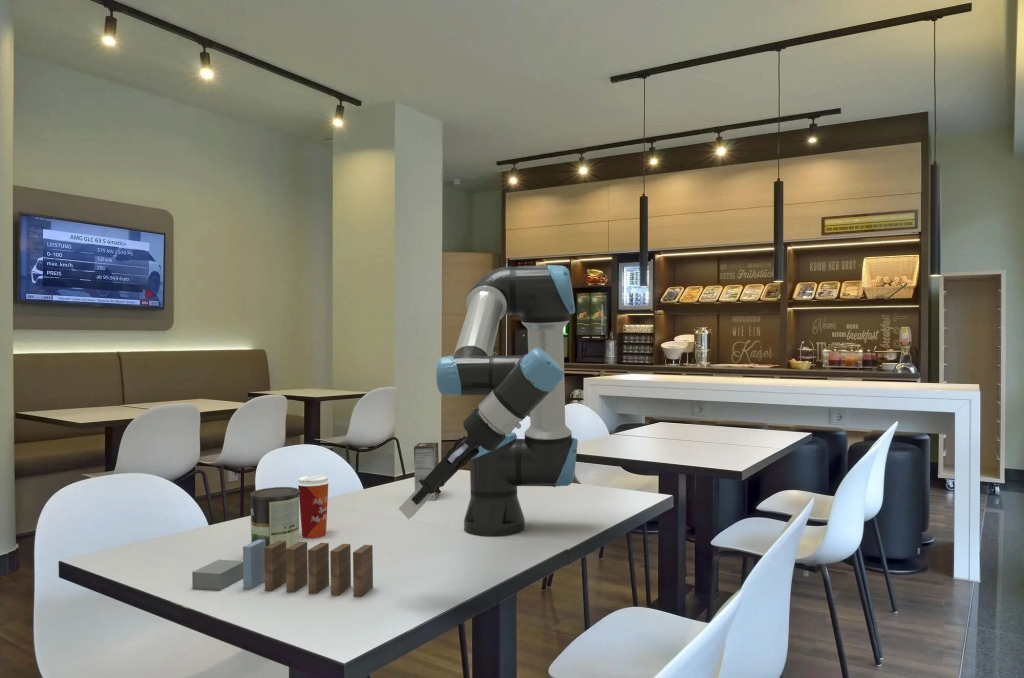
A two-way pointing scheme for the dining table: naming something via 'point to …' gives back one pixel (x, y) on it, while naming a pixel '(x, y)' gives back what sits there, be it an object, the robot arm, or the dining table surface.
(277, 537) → the coffee can
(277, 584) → the domino
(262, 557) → the domino
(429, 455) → the coffee box
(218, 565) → the block
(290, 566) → the domino
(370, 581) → the domino
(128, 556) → the dining table surface
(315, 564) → the domino
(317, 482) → the paper cup
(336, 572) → the domino
